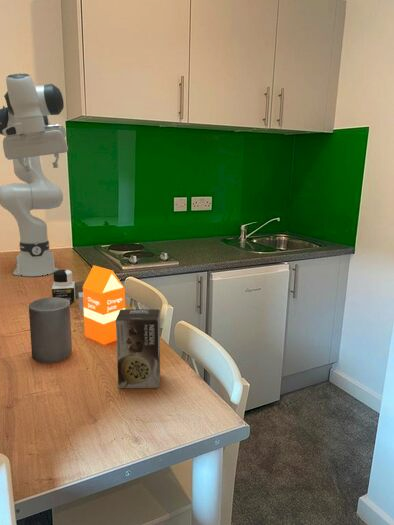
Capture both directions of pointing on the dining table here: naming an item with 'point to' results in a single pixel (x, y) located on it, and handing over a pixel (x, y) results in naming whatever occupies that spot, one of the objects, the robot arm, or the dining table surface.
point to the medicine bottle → (64, 286)
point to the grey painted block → (81, 301)
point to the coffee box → (138, 348)
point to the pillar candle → (50, 329)
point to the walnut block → (78, 288)
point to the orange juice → (102, 304)
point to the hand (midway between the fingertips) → (41, 169)
